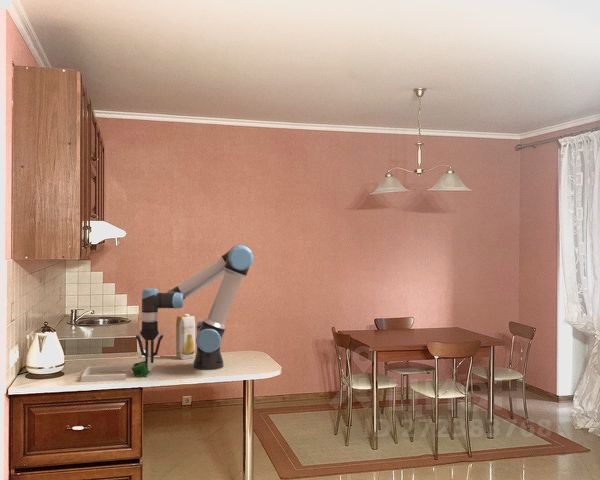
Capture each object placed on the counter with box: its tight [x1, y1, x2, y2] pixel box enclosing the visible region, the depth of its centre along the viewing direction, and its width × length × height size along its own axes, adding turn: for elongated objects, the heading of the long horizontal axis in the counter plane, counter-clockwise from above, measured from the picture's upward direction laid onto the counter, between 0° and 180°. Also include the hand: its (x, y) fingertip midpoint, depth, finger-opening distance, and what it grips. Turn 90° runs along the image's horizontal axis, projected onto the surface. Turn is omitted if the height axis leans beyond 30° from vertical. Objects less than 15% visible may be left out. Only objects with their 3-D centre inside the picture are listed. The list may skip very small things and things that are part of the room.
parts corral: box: [80, 364, 130, 383], centre depth 294 cm, size 20×21×2 cm
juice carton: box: [175, 313, 196, 360], centre depth 336 cm, size 9×8×24 cm
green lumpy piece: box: [131, 360, 150, 378], centre depth 296 cm, size 12×6×9 cm, turn 1°
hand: (149, 369), depth 297 cm, fingers closed
